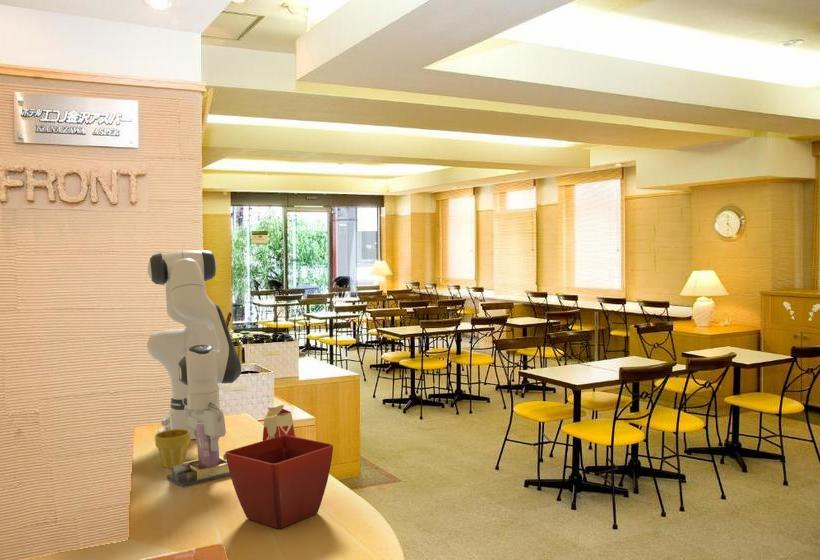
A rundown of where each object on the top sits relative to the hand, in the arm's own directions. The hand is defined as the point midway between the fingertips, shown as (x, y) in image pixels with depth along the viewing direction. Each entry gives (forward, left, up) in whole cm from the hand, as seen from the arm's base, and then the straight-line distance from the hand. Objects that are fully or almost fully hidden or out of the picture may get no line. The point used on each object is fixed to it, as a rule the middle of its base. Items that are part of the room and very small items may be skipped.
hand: (206, 447), depth 203 cm
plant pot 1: (-18, -3, -8) cm, 20 cm away
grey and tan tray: (0, 0, -8) cm, 8 cm away
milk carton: (+13, +17, -8) cm, 23 cm away
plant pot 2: (+45, -1, -8) cm, 46 cm away
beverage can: (+2, 0, -7) cm, 7 cm away
